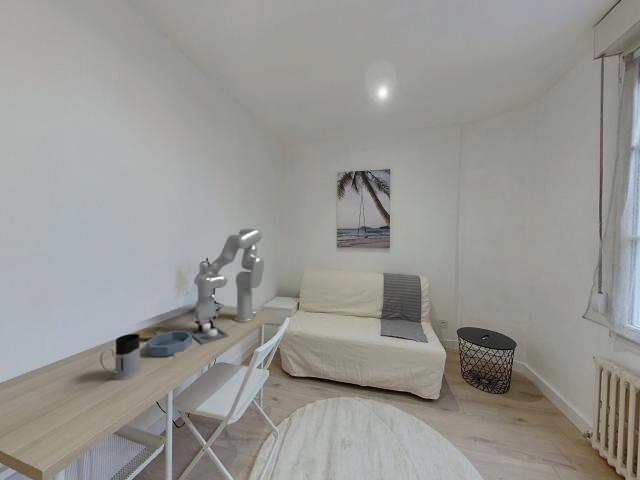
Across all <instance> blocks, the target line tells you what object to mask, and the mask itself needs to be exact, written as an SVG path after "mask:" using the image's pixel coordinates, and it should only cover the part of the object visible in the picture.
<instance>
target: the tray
mask: <svg viewBox="0 0 640 480" xmlns="http://www.w3.org/2000/svg"><path fill="white" fill-rule="evenodd" d="M212 329H217V337H216V338H213V339H210V340H208V339H207V332H205V333H203V332H200V331H199V330H198V328H196V329H194V330H189V331H188V332H189V333H190V334H191V335H192V338H194V339H195V340H196V341H197V342H198V343H199V344H201V345H206V344H208V343H212V342H215V341H219V340H222V339H225V338H229V334H228V333H227V332H225V331H224V330H222V329H221V328H219V327H218V326H216V325H215V324H213V327H212Z"/></svg>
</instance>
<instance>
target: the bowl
mask: <svg viewBox="0 0 640 480" xmlns="http://www.w3.org/2000/svg"><path fill="white" fill-rule="evenodd" d="M191 345H193V336H192V335H191V334H190V333H189V331H186V330H183V331H182V330H181V331H180V330H172V331H167V332H166V333H165V332H163V333H161V334H157V335H156V336H155V337H153V338H152V339H150V340H146V350H147V352H148V355H149V356H151V357H153V358H167V357H172V356H175V354H177V353H180V352H184V351H186V350H187V349H188V348H189V347H190V346H191Z"/></svg>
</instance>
